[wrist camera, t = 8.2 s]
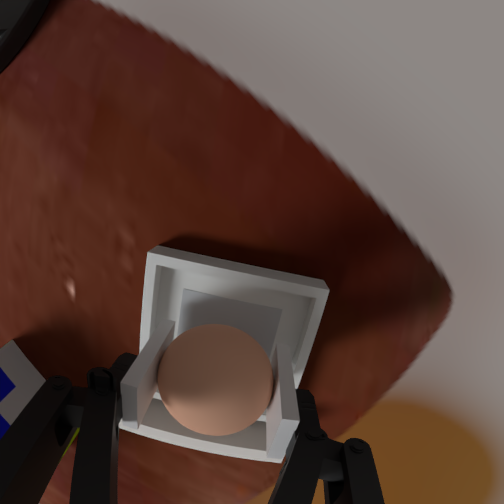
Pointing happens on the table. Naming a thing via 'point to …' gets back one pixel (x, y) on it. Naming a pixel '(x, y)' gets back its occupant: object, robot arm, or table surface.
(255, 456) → the low wall
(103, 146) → the table surface
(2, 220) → the table surface
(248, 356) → the ball
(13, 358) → the puzzle toy
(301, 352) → the light gray square tray
